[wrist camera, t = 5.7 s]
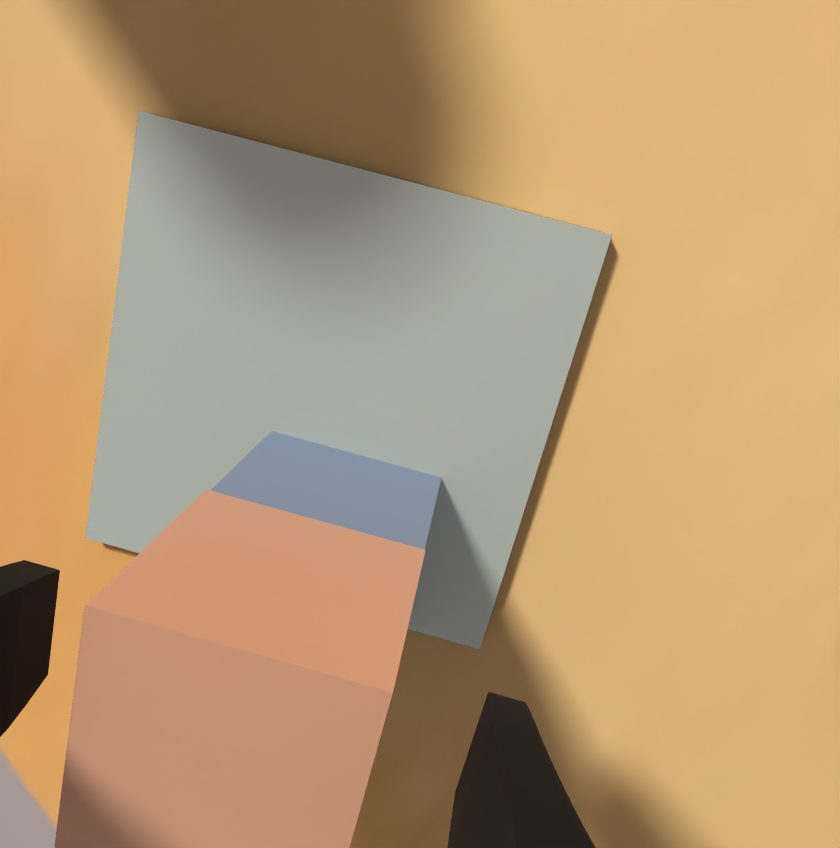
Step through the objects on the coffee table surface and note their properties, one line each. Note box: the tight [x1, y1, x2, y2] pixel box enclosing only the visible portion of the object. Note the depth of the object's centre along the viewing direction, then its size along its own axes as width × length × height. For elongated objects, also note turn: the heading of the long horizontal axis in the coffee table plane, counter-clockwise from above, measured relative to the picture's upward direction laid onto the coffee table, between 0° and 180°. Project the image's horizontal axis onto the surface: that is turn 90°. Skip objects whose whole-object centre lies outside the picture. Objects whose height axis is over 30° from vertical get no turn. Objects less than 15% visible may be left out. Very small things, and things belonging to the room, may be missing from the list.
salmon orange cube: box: [55, 489, 426, 848], centre depth 12 cm, size 4×4×4 cm
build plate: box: [86, 111, 612, 649], centre depth 17 cm, size 10×10×1 cm
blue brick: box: [210, 431, 441, 550], centre depth 16 cm, size 4×4×4 cm
